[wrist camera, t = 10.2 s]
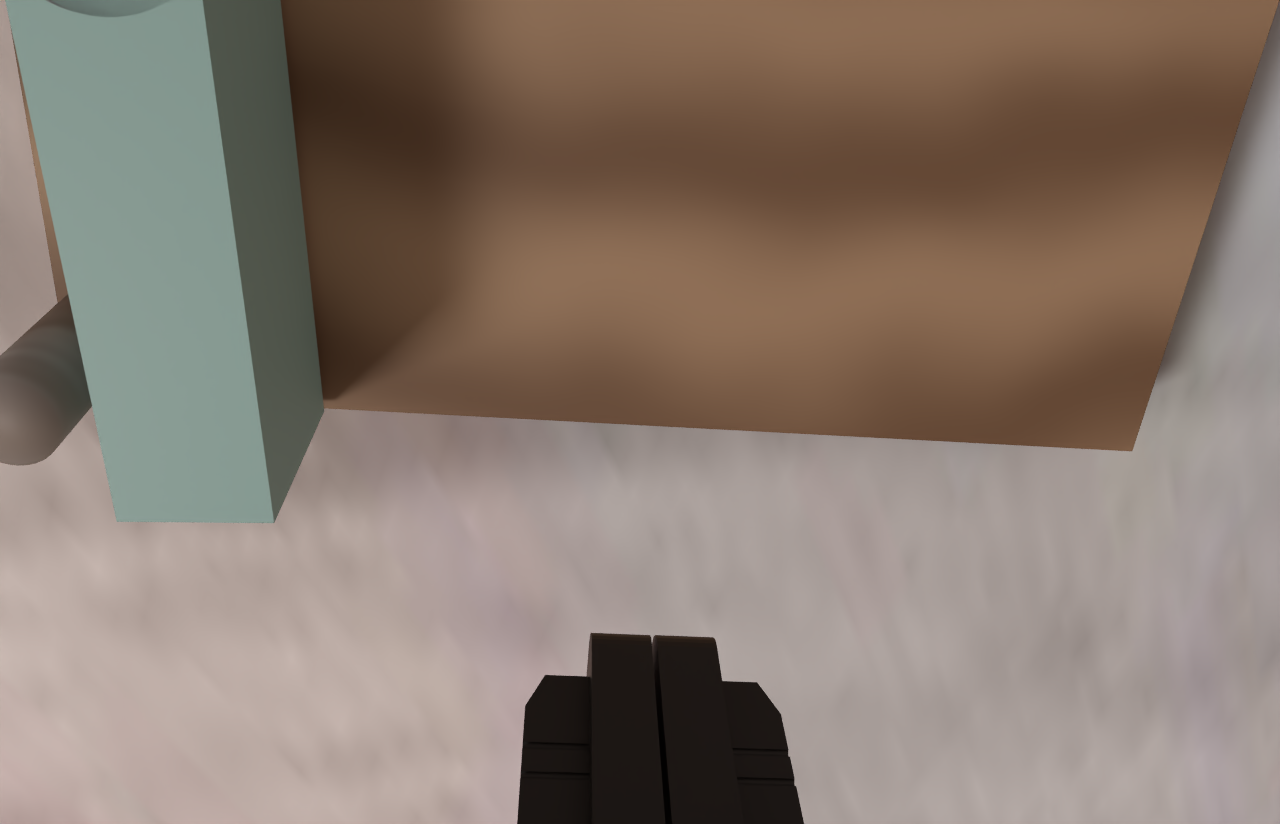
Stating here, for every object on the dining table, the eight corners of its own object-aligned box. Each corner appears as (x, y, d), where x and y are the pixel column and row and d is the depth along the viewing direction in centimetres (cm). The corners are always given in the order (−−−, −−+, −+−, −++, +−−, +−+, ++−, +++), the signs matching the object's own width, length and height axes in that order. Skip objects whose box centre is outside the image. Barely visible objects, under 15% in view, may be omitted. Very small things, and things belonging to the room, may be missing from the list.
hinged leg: (59, -252, 21) (-80, -269, 17) (276, -242, 21) (194, -257, 17) (175, 408, 28) (96, 521, 23) (340, 411, 28) (293, 523, 24)
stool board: (11, -315, 23) (-223, -368, 16) (1275, -193, 25) (1524, -196, 18) (111, 352, 30) (-25, 504, 23) (1094, 407, 32) (1226, 562, 25)
